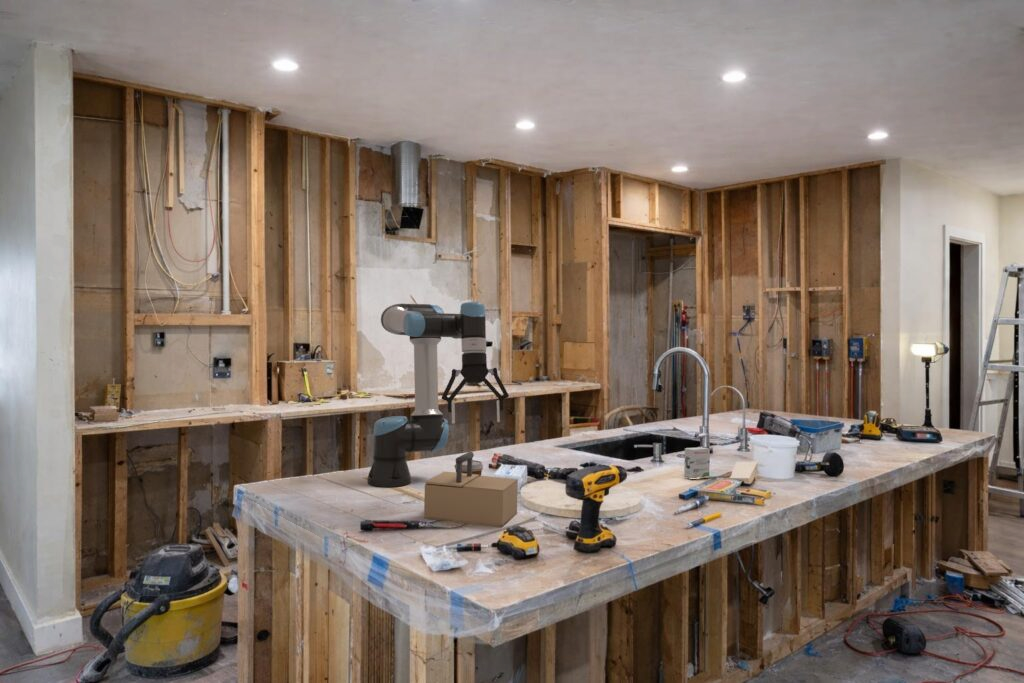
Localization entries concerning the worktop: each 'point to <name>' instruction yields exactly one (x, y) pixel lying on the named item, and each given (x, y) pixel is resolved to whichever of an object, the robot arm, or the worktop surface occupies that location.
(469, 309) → the robot arm
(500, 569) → the worktop surface
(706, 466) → the ink box
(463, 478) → the flap
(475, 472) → the disposable coffee cup
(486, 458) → the worktop surface
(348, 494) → the worktop surface
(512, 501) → the carton
